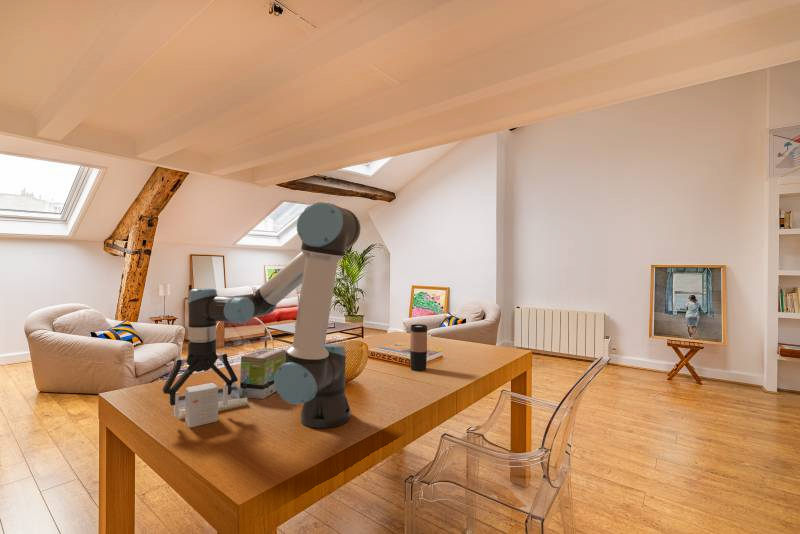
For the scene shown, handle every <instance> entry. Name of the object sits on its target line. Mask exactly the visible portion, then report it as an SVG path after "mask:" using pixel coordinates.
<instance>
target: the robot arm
mask: <svg viewBox="0 0 800 534" xmlns="http://www.w3.org/2000/svg"><path fill="white" fill-rule="evenodd" d="M296 231H297V235H298V237H299V238H300V240H301V248H300V250H301V252H299V254H297V255H296V256H294V258H292V260H290V261H289V262H287V264H285V265H284V266H283V267H282V268H281V269H280V270H279V271H277V272H276V273H275V274H274V275H273V276H271V278H269V279H268V280H267V281H266V282H265V283H263V284H262V285H261V286H260V287H259V288H258V289H257V290H255V291H254V292H253V293H251V294H249V293H248V294H242V295H241V294H240V295H233V296H232V295H230V296H227V295H224V296H223V295H218V292H217V289H216V288H211V287H210V288H209V287H208V288H207V287H203V288H202V287H201V288H192V289H190V290H189V294H188V302H187V305H188V309H187V310H188V327H187V328H188V331H187V333H188V334H187V335H188V336H187V339H188V340H189V341H188V342H187V357H186V358H180V357H176V358H175V362H174V367H173V369H172V371H171V372H170V374H169V376H168V378H167V380H166V381H165V384H164V385H163V388H162V389H161V390H162V392H163V394H165V395H166V394H168V395H169V405H170V406H172V405H174V408H173V415H174V418H179V417H178V398H179V396H180V395H179V393H178V391H179V389H180V388H181V387H182V386H183V385H184V384H185V382H186V381H187V380H188V379H189V378H190V376H191V375H193V374H194V372H196V373H201V372H202V371H203V372H206V371H209V370H213V372H214V373H215V374H216V375H218V377H220V378H221V379H222V380H223V381H224V382H225V383H222V388H223V405H224V406H225V407H228V395H230V394H231V385H232V383H234V382H235V383H236V382H238V380H239V379H238V377H237V376H236V373H235V371H234V369H233V368H232V366H231V364H230V363H229V360H228V359H229V358H228V354H227V353H226V352H225V351H223V352H221V353H220V354H219V353H218V354H217V340H216V338H217V322H222V323H233V324H238V323H239V324H243V323H247V322H249V321H250V320H251V319H253V318H258V317H265V316H267V315H270V314H272V313H273V312H274V311H275V310H276V307H277V305H278V304H279V303H280V302H281V301H283V300H284V298H286V297H287V296H289V295H290V294H291V293H292V292H294V290H296V289H297V288H298V287H299V286H300V285H301V286H300V287H301V288H300V295H299V302H298V307H297V313H296V321H295V327H294V335H293V341H292V344H290V345H289V346H288V347H286V349H285V352H286V354H285V360H284V363H283V364H282V365H281V366H280V367H279V368H278V369H277V370H276V372H275V375H274V386H275V389H276V391H275V392H276V393H277V394H279V397H280V398H281V399H282V400H283V401H284V402H286V403H288V404H291V405H297V406H298V405H302V408H301V412H300V422H301V424H303V425H304V426H306V427H308V428H309V427H310V428H316V429H328V428H335V427H338V426H342V425H344V424H346V423H348V421H350V419H351V407H350V404H349V401H348V398H347V395H346V357H347V355H346V348H345V345H344V346H343V345H342V344H337V343H326V339H327V332H328V326H329V319H330V314H331V306H332V300H333V294H334V290H335V281H336V275H337V269H338V263H339V261H341V260H343V258H344V257H345V253H346V252H347V251H348V250H349V249H351V248H352V247H353V245H355V244H356V243H357V241H358V240H359V237H360V235H361V223H360V220H359V218H358V216H356V214H355V212H352V211H351V210H349V209H348V208H343V207H341V206H339V205H336V204H333V203H330V202H323V201H321V202H320V201H318V202H317V201H316V202H314V203H310V204H309V205H308V206H306V207H305V208H303V210H302V211H301V212H300V214H299V216H298V218H297V222H296ZM217 360H219V361H221V362H222V364H223V365H224V367H225V369H226V371H227V373H228V375H229V376H230V378H229V377H227V375H225V374H224V373H223V372H222V371H221V370H220V368H218V367H217V366H216V364H215V363H216V362H217ZM185 364H187V365H188V367H187V368H186V369H185V371H184V372H183V373H182V374H181V376H180V377H179V378H178V379H177V380H176V378H177V376H178V375H179V373H180V371H181V368H182V367H184V366H185ZM175 380H176V382H175ZM174 382H175V383H174ZM172 407H173V406H172Z"/></svg>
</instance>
